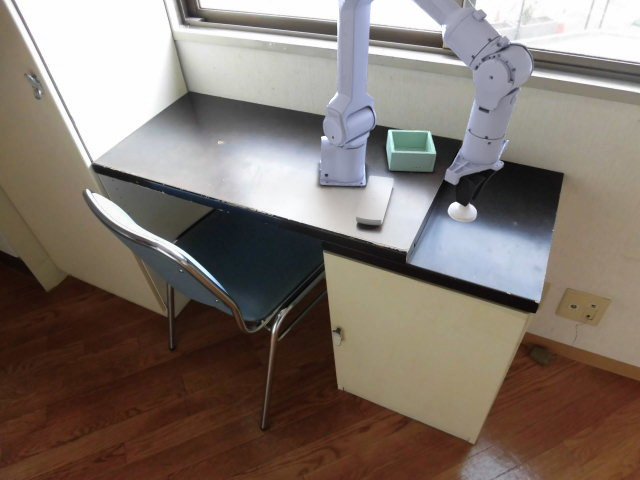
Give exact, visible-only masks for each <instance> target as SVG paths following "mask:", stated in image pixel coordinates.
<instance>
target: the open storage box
mask: <svg viewBox="0 0 640 480" xmlns="http://www.w3.org/2000/svg"><path fill="white" fill-rule="evenodd" d="M387 130H388V131H387V138H386V146H385V148H386V155H387V163H388V171H393V172H394V171H395V172H421V173H422V172H423V173H425V172H426V173H432V172H433V171H434V166H435V162H436V159H437V158H436V157H437V151H436V148H435V144H434V140H433V136H432V132H431V130H415V129H414V130H412V129H411V130H410V129H409V130H408V129H387ZM414 167H415V168H414ZM416 167H417V168H416ZM419 167H420V168H419Z"/></svg>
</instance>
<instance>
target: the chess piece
mask: <svg viewBox="0 0 640 480" xmlns="http://www.w3.org/2000/svg"><path fill="white" fill-rule="evenodd" d="M479 172H480V171H479ZM477 211H478V210H477V209H476V207H475V206H474V205H473V204H471V202H470V203H469V204H468V205H467V206H466V207H464V206H463V205H461V204H459V203H457V202H456V201H455V202H452V203H451V204H450V205H449V206H448V209H447V214H448V215H449V217H450V219H453V220H455V221H457V222H459V223H471V222H473V221H475V220H476V218H477V217H478V212H477Z"/></svg>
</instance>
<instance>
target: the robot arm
mask: <svg viewBox="0 0 640 480" xmlns="http://www.w3.org/2000/svg"><path fill="white" fill-rule="evenodd" d="M374 1H375V0H337V39H336V42H337V47H336V48H337V50H336V51H337V59H336V93H335V94H334V96H333V97H332V98H331V100H330V101H329V102H328V104H327V105H326V107H325V109H326V110H325V117H324V118H323V121H322V130H323V133H324V136H321V140H320V141H321V142H320V161H318V162H319V163H318V169H319V171H320V180H319V181H320V182H319V183H320V185H321V186H339V187H340V186H343V187H344V186H345V187H366V186H367V179H366V165H365V164H366V163H365V162H366V152H367V144H368V143H367V142H368V138H369V137H370V131H372V130H374V128H375V127H376V125H377V120H378V119H377V113H376V110H375V98H374V97H373V96H372V95H371V94H369V93H368V92H367V90H368V89H367V88H368V71H369V70H368V66H369V49H370V47H369V46H370V29H371V28H370V27H371V9H372V8H371V5H372V2H374ZM411 1H412V2H413V3H414V4H416V6H418V7H419V8H420V9H421V10H422V11H423V12H424V13H426V14H427V15H428V16H429V17H430V18H431V19H432V20H433V21H434V22H436V23H437V24H438V25H439V26H440V27H441V28H442V36H441V37H442V42H443V43H444V44H445V45H446V46H447V47H448V48H449V49H450V50H451V51H452V52H453V54H455V55H456V56H457V57H458V59H459V60H460V61H462V63H464V65H466V67H467V68H468V69H470V71H471V72H472V82H473V86H474V88H475V95H474V99H473V103H472V107H471V110H470V115H469V119H468V123H467V125H466V130H465V133H464V138H463V142H462V145H461V148H459V151H458V153H457V155H456V157H455V158H454V160H453V162H452V164H450V166H449V167H448V168H447V169H446V171H445V175H444V180H445V181H446V182H448V183H450V184H452V185H454V195H455V197H454V198H455V199H454V200H455V202H457V203H459V204H461V205H463V206H464V207H466V206H467V205H468V204H469V203H470V204H471V201H475V200H477V199H478V197H479V196H480V194H481V193H482V192H483V189H484V188H485V187H486V185H487V183H488V182H489V181H490V180H491V178H492V177H494V175H495V174H496V173H497V172H498V171H499V170H501V169H502V168H504V165H505V163H504V161H502V160H501V156H502V154H503V153H505V152H506V151H507V147H508V146H509V142H510V140H508V139H506V135H507V132H508V128H509V126H510V122H511V120H512V117H513V114H514V110H515V107H516V103H517V100H518V97H519V93H520V91H521V87H520V86H522V85H523V84H525V83H526V82H527V81H528V80H529V79H530V78H531V76H532V74H533V72H534V68H535V61H534V57H533V54H532V53H531V52H530V50H529V49H528V47H527V45H525V44H523V43H521V42H511V39H510V38H508V36H506V35H505V36H503V35H502V33H500V32H499V31H498V30H497V29H496V28H495V26H493V25H492V24H491V23H490V22H489V20H487V19H486V18H487V16H488V14H487V13H486V12H485V11H484V10H483V9H482V8H481V9H476V8H475V7H473V6H467V7H461V5H460V4H459V3H458V2H457V1H456V0H411ZM479 171H480V172H479Z"/></svg>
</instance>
